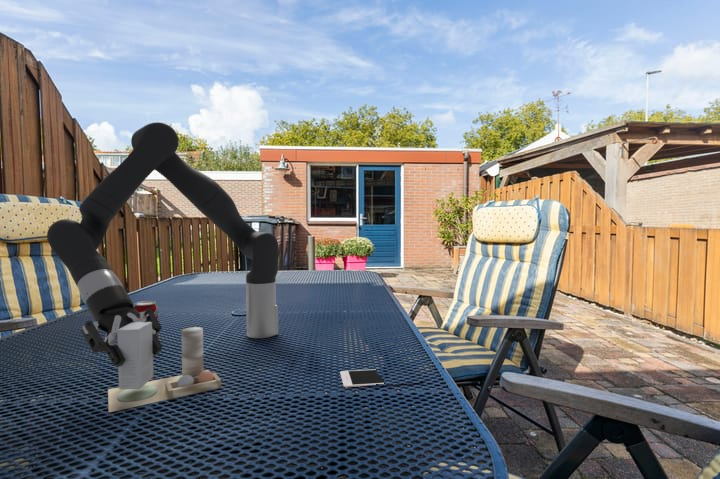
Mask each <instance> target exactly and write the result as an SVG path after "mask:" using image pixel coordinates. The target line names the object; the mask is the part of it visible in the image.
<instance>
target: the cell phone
mask: <svg viewBox="0 0 720 479" xmlns="http://www.w3.org/2000/svg"><path fill="white" fill-rule="evenodd" d="M376 369H377V368H376ZM376 369H375V368H374V369H371V368H370V369H354V370H353V369H352V370H341V371H340V372H339V375H341V376H340V380H341V379H342V380H341V382H342V383H343V384H342V387H343V386H344V387H345V388H344V387H343V388H344V389H349V388H348V387H360V386H367V385H376V384H384V380H383V379H382V376H378V375H379V374H377V373H376V372H377V370H376Z"/></svg>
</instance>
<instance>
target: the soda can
mask: <svg viewBox="0 0 720 479" xmlns="http://www.w3.org/2000/svg"><path fill="white" fill-rule="evenodd" d="M133 307H134V309H135V310H136V311H138V312H145V311H146V310H147V309H148V308H149V309H152V311H153V313H154V314H155V316H156V318H157V320H158V321H159V307H158V305H157V304H156V301H155V300H145V301H144V300H143V301H138V302H135V303H134V306H133ZM140 320H142V319H140ZM157 338H158V339H159V334H158V335H157Z"/></svg>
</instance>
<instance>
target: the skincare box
mask: <svg viewBox="0 0 720 479" xmlns="http://www.w3.org/2000/svg"><path fill="white" fill-rule="evenodd" d="M116 341H117V345H118V347H119V349H120V351H121V352H122V354H123V356H124V358H125V362H124V364H123V365H122V366H119V367H117V370H118V371H117V372H118V387H119V389H120V390H121V389H140V388H141V387H143V386H144V385H145V384H146V383H147V382H149V381H151V380H152V379H153V378H154V354H153V342H152V322H131V323H130V324H128V325H126V326H124V327H122V328H120V329H118V330H117V337H116Z"/></svg>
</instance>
